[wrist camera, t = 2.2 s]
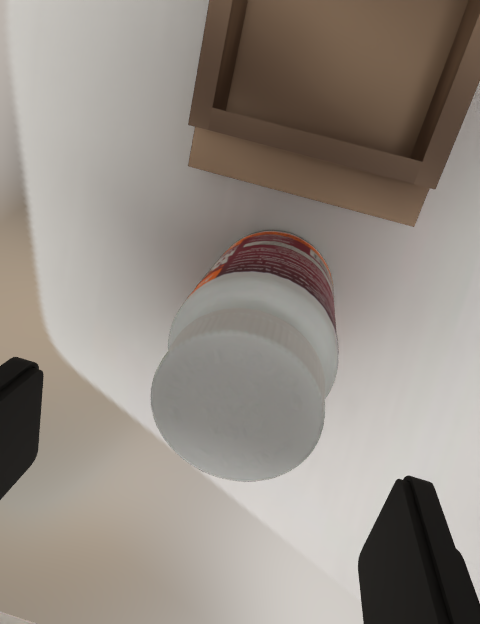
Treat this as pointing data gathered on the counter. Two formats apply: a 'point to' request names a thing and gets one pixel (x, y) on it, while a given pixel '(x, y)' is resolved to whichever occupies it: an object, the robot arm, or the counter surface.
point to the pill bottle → (250, 361)
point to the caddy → (336, 97)
